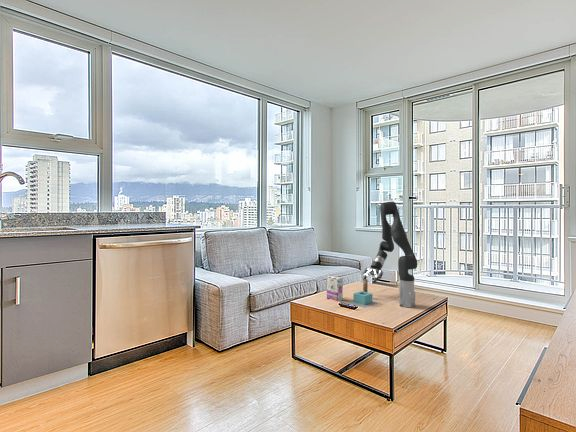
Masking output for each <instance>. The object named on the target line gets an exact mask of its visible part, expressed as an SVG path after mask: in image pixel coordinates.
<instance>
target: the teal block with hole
mask: <svg viewBox="0 0 576 432" xmlns="http://www.w3.org/2000/svg"><path fill="white" fill-rule="evenodd" d="M352 297H353V299H352V301H353V302H355V303H359V304H363V305H366V304H369V303H372V301H373V293H371V292H364V291H363V290H360V291H356V292H353V296H352Z"/></svg>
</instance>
